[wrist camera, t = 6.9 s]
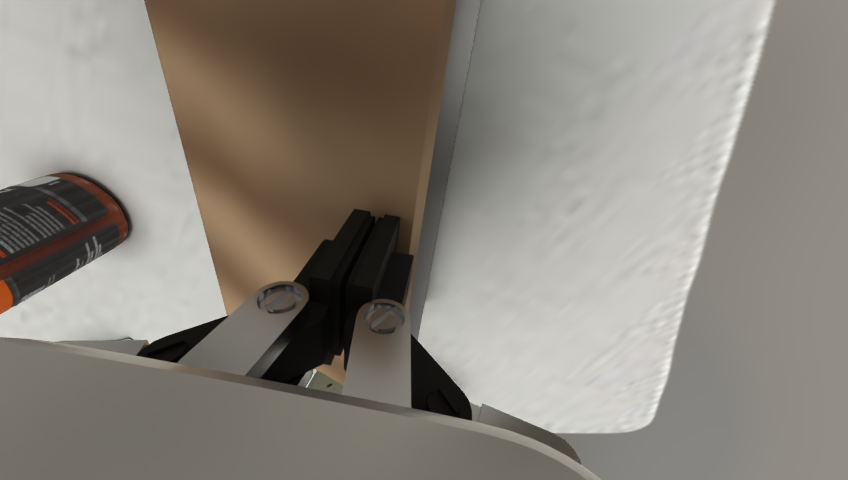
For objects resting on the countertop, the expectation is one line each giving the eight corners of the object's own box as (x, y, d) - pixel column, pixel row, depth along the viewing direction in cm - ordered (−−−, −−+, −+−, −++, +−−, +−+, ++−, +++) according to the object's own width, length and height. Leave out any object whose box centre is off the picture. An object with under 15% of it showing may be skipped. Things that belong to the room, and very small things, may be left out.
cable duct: (217, -84, 14) (137, -125, 11) (487, -41, 14) (494, -70, 10) (270, 273, 25) (238, 310, 21) (423, 301, 24) (416, 342, 21)
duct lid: (137, -125, 11) (108, -138, 10) (477, -132, 7) (465, -152, 6) (238, 310, 21) (227, 317, 20) (394, 398, 17) (387, 411, 17)
